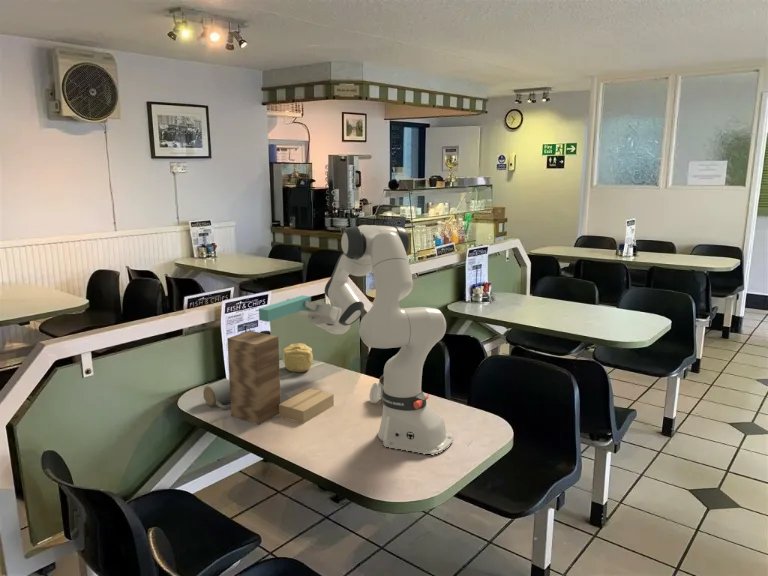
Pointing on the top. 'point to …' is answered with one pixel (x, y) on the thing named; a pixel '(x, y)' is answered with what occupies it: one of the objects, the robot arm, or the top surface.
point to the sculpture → (297, 357)
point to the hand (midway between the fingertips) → (298, 302)
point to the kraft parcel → (306, 405)
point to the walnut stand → (254, 376)
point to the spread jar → (377, 390)
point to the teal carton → (283, 308)
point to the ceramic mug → (218, 393)
